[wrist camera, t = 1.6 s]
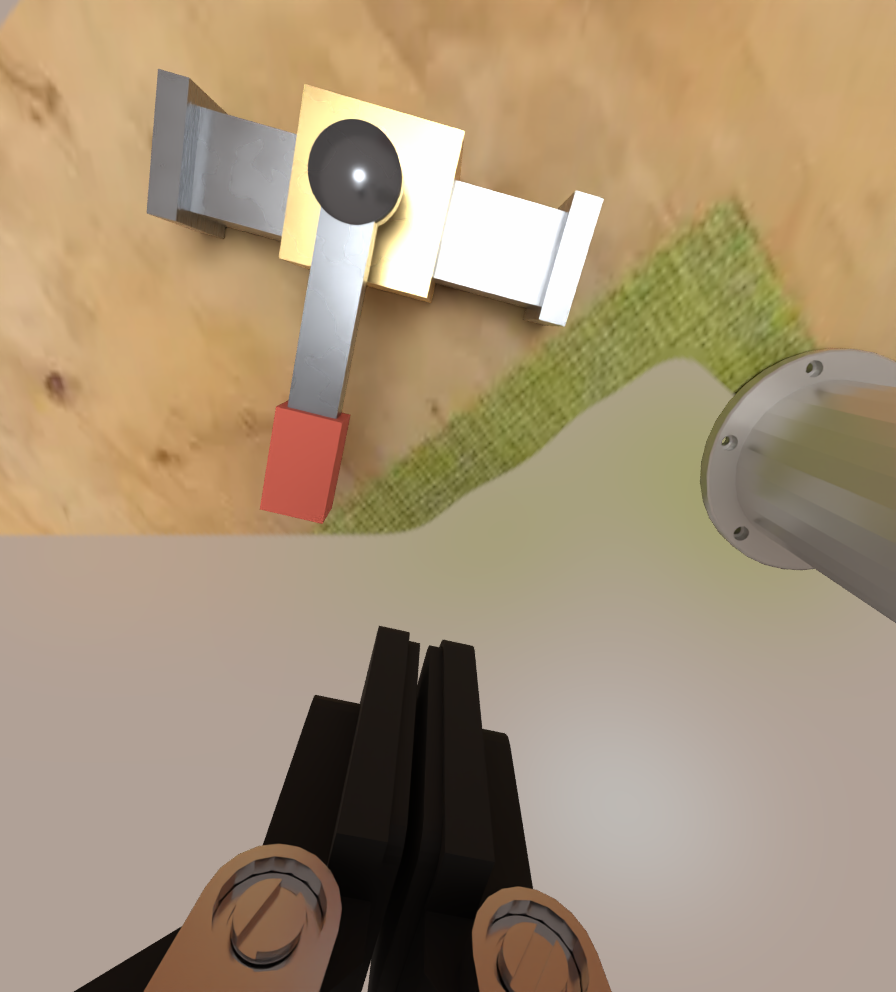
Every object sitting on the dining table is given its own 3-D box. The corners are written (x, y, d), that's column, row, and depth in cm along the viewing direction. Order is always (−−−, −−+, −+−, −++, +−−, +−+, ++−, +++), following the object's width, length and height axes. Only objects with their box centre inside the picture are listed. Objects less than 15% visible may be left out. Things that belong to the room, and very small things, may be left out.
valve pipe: (577, 212, 28) (637, 162, 19) (542, 332, 29) (582, 338, 21) (213, 107, 26) (100, 2, 18) (199, 240, 28) (89, 205, 19)
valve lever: (326, 123, 19) (314, 102, 17) (412, 148, 19) (409, 130, 17) (266, 493, 22) (251, 507, 21) (338, 510, 23) (330, 525, 21)
